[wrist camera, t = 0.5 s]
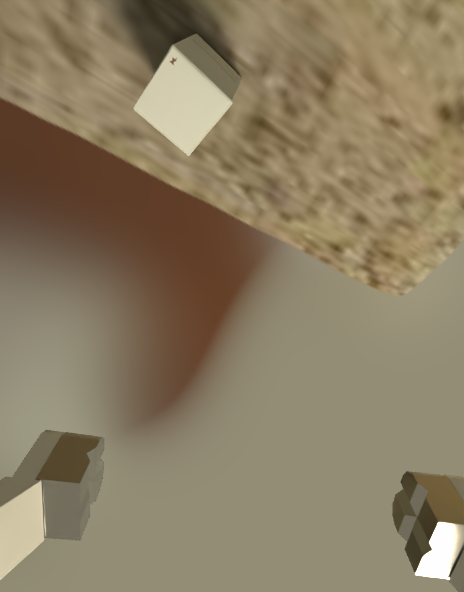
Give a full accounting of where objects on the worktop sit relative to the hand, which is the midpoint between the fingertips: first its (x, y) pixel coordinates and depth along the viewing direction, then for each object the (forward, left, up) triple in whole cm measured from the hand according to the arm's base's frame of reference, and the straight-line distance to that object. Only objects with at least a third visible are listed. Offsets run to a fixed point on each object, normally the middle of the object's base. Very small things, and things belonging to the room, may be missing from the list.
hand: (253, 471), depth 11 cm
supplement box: (+6, -7, -49) cm, 49 cm away
